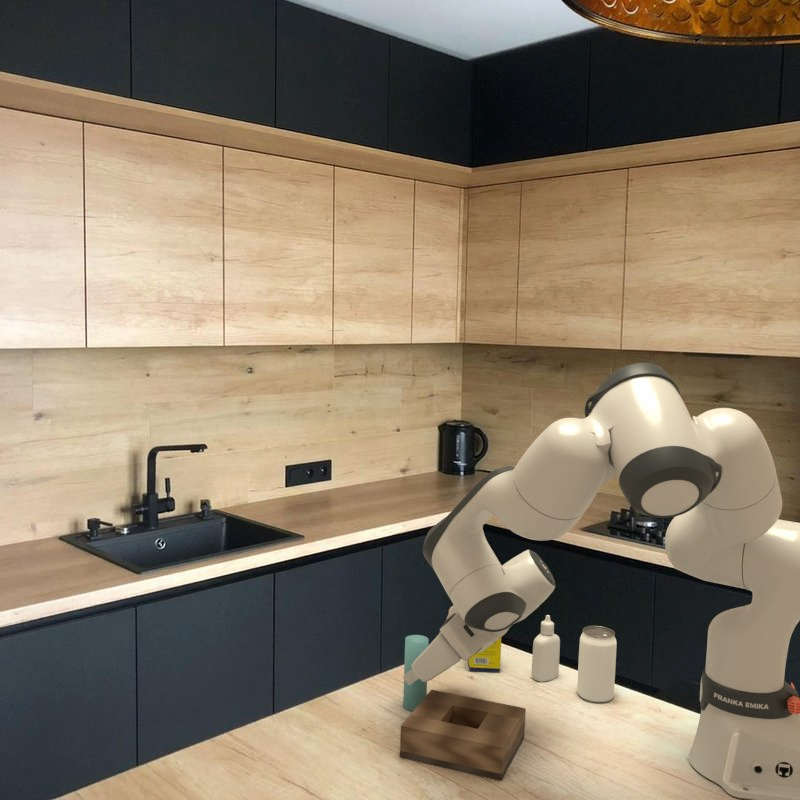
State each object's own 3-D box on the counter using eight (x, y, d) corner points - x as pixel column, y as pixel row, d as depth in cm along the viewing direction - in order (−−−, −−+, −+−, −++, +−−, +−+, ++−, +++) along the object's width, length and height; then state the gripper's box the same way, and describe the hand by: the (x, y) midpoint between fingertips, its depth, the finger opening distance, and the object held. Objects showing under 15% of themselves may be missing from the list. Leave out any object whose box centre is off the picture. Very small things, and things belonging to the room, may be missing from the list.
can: (614, 705, 151) (618, 639, 150) (576, 701, 152) (580, 635, 151) (612, 690, 157) (616, 626, 156) (576, 686, 158) (580, 623, 157)
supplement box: (500, 673, 163) (503, 617, 162) (469, 671, 163) (471, 616, 162) (497, 660, 169) (500, 606, 168) (467, 659, 169) (469, 605, 168)
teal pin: (429, 703, 149) (431, 637, 148) (421, 713, 145) (423, 645, 144) (408, 699, 151) (410, 633, 149) (399, 708, 147) (401, 641, 146)
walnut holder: (524, 738, 138) (525, 708, 137) (501, 780, 125) (503, 747, 125) (430, 718, 144) (431, 689, 143) (399, 756, 131) (400, 725, 130)
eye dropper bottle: (527, 673, 164) (529, 611, 162) (555, 671, 164) (558, 611, 163) (534, 682, 159) (537, 620, 158) (563, 681, 160) (566, 619, 159)
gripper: (479, 590, 153) (425, 634, 157) (442, 627, 134) (382, 676, 138) (502, 618, 151) (447, 662, 156) (469, 660, 132) (407, 708, 137)
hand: (416, 669), depth 147 cm, fingers open, 8 cm apart
